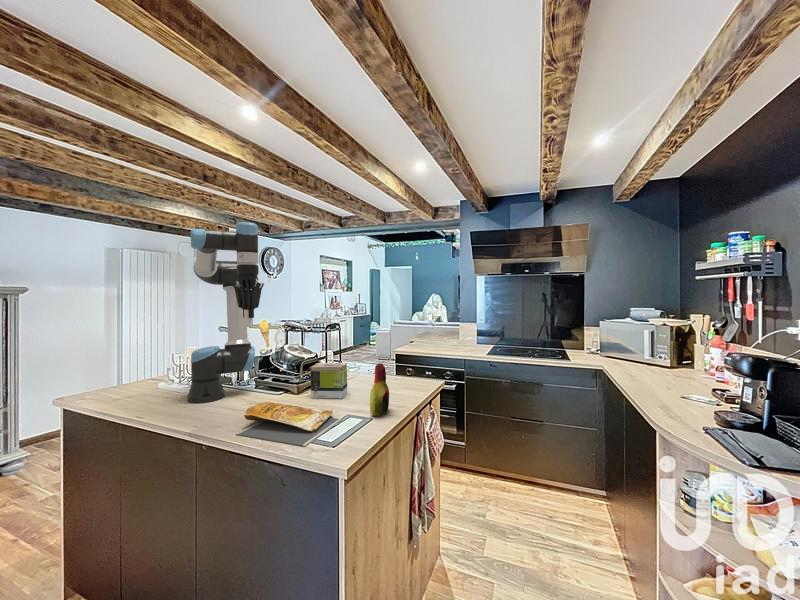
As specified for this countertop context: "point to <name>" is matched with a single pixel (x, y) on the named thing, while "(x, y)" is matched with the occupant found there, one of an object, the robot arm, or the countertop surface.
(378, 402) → the bottle
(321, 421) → the pancake mix bag
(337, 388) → the tea box
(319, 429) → the mat
